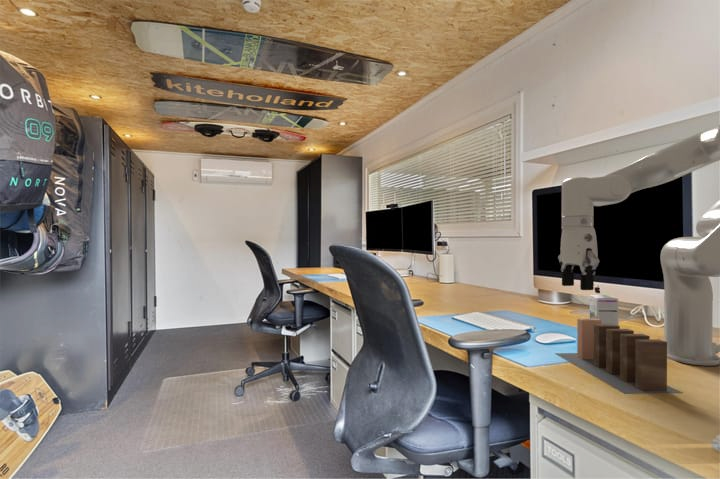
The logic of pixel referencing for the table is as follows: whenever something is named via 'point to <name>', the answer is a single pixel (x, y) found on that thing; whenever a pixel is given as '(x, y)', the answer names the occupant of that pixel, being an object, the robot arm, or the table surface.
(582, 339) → the domino
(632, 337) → the domino
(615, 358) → the domino
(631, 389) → the mat
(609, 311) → the syrup box
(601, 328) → the domino
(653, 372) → the domino
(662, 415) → the table surface
